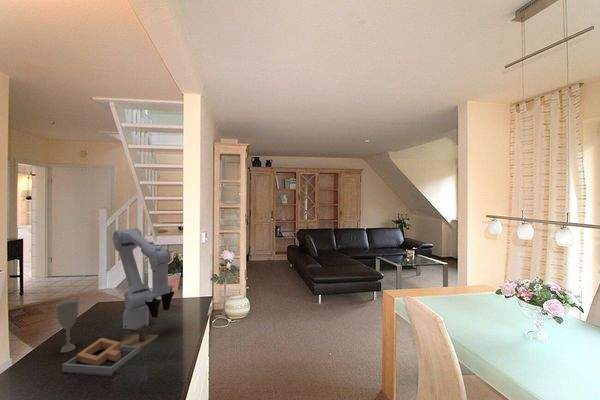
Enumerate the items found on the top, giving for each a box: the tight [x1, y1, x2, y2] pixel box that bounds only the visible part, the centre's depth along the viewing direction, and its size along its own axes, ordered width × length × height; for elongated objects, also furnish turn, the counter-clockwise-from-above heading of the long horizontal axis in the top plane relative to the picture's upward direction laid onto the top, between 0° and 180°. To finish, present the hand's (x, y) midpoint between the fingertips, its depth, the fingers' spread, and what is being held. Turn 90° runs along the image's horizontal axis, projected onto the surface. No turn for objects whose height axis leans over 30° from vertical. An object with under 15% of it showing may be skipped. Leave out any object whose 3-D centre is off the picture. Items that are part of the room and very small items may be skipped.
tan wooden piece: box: [119, 324, 160, 349], centre depth 112 cm, size 12×10×6 cm
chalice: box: [55, 299, 80, 353], centre depth 106 cm, size 7×7×18 cm
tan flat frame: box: [76, 337, 122, 366], centre depth 100 cm, size 13×9×2 cm
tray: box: [61, 345, 142, 378], centre depth 99 cm, size 18×14×3 cm
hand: (160, 313), depth 118 cm, fingers open, 7 cm apart
